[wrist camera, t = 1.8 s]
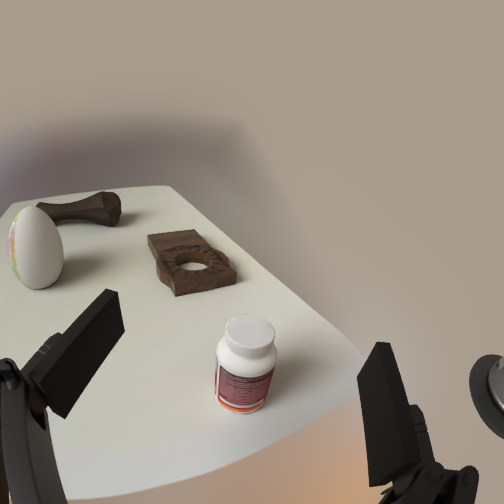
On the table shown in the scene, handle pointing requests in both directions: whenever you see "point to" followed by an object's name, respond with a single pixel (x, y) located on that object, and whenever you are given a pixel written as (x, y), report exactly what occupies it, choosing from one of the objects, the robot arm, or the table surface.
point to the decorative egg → (35, 248)
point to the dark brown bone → (87, 209)
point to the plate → (189, 250)
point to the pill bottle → (245, 364)
